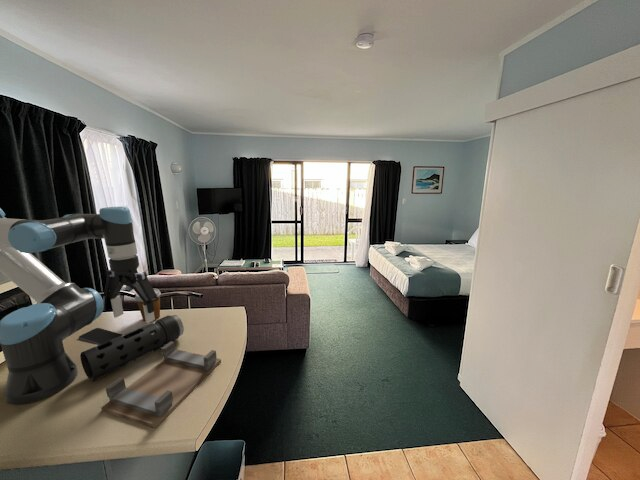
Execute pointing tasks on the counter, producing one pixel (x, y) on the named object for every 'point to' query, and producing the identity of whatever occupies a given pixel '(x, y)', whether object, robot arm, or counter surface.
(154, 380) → the mounting board
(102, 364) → the muzzle brake
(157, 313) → the disposable coffee cup
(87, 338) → the smartphone
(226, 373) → the counter surface
